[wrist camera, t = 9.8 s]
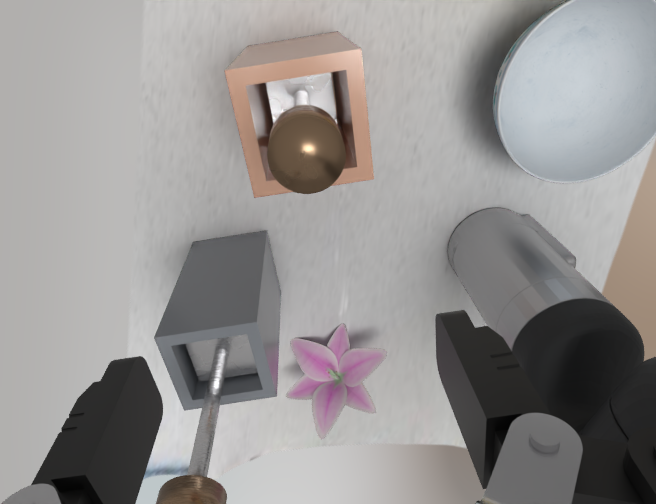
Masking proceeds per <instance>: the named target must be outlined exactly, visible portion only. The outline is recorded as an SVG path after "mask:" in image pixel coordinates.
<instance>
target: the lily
mask: <svg viewBox="0 0 656 504" xmlns="http://www.w3.org/2000/svg"><path fill="white" fill-rule="evenodd" d="M291 347H292V350H293V353H294V355H295V358H296V360H297V362H298V364H299V366H300V368H301V370H302V371H303V372H304V374H305V375H304V376H302V377H301V378H300V379H299V380H298V381H297V382H296V383H295V384H294V385H293V386H292V387H291V389H290V390H289V391H288V393H287V395H286V397H287V398H290V399H302V400H307V399H312V411H313V417H314V423H315V427H316V431H317V433H318V436H319V438H320V439H321V440H322V439H324V438H325V437H326V436H327V435H328V433H329V432H330V430H331V429H332V427H333V425H334V424H335V422H336V420H337V418H338V417H339V415H340V413H341V412H342V410H343V408H344V406H345V405H347V406H349V407H352V408H354V409H357V410H360V411H364V412H368V413H376V409H375V406H374V403H373V401H372V399H371V397H370V395H369V393H368V391H367V390H366V388H365V386H364V385H363V383H362V382H363V381H364V380H365V379H367V377H368V376H369V375H370V374H371V373H372V372H373V371H374V370H375V369H376V368H377V367H378V366H379V365H380V364H381V363H382V362H383V360H384V359H385V358H386V356H387V353H388V352H387V351H386V350H384V349H377V348H355V349H351V350H350V343H349V338H348V334H347V330H346V327H345V324H340V326H339V327H338V328H337V329H336V331H335V332H334V334H333V335H332V337H331V339H330V340H329V343H328V345H327V347H326V346H323V345H321V344H319V343H315V342H312V341H308V340H304V339H299V338H294V339H292V340H291Z"/></svg>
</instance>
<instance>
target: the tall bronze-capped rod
mask: <svg viewBox="0 0 656 504" xmlns="http://www.w3.org/2000/svg"><path fill="white" fill-rule="evenodd" d="M186 347H187V350H188V352H189V355H190V358H191V360H192V363H193V366H194V368H195V371H196V374H197V376H198V379H199V382H200V381H207V380H208V384H207V389H206V393H205V398H204V402H203V407H202V411H201V416H200V420H199V425H198V429H197V434H196V438H195V443H194V448H193V452H192V457H191V461H190V466H189V470H188V475H185V476H179V477H176V478H173V479H171V480H169V481H167V482H166V483H165V484H164V485H163V486H162V487H161V489H160V491H159V495H158V498H157V502H156V504H226V500H227V494H226V491H225V489H224V488H223V486H221V484H219V483H218V482H216V481H215V480H213V479H210V478H208V477H207V473H208V468H209V462H210V457H211V451H212V446H213V440H214V434H215V429H216V423H217V418H218V412H219V406H220V401H221V395H222V390H223V384H224V379H225V378H226V377H233V376H239V375H246V374H252V373H258V371H257V367H256V364H255V360H254V357H253V354H252V350H251V347H250V343H249V340H248V336H247V334H244V335H238V336H231V337H225V338H218V339H212V340H206V341H199V342H193V343H186Z"/></svg>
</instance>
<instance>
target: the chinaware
mask: <svg viewBox="0 0 656 504" xmlns="http://www.w3.org/2000/svg"><path fill="white" fill-rule="evenodd" d="M493 115H494V121H495V126H496V130H497V133H498V136H499V138H500V140H501V142H502V145H503V146H504V148H505V150H506V152H507V153H508V155H509V156H510V157H511V159H512V160H513V161H514V162H515V163H516V164H517V165H518V166H519V167H520V168H521V169H522V170H524V171H525V172H527V173H528V174H530V175H532V176H534V177H536V178H538V179H541V180H544V181H548V182H553V183H578V182H583V181H588V180H591V179H595V178H598V177H600V176H603V175H605V174H607V173H609V172H611V171H613V170H615V169H617V168H619V167H620V166H622V165H624V164H625V163H627V162H628V161H629V160H631V159H632V158H633V157H635V156H636V155H637V154H638V153H639V152H640V151H642V150H643V149H644V148H645V147H646V146H647V145H648V144H649V143H650V141H651V140H652V139H653V138H654V137H655V136H656V0H567V1H565V2H563V3H561V4H559V5H558V6H556V7H554V8H553V9H551V10H549V11H548V12H546V13H545V14H544V15H542V16H541V17H540V18H538V19H537V20H536V21H535V22H534V23H532V24H531V25H530V26H529V27H528V28H527V29H526V30H525V31H524V32H523V33H522V34H521V36H520V37H519V38H518V39H517V40H516V42H515V43H514V44H513V46H512V47H511V49H510V50H509V52H508V54H507V55H506V57H505V59H504V61H503V63H502V65H501V68H500V70H499V73H498V76H497V79H496V83H495V88H494V95H493Z"/></svg>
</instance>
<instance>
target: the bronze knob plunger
mask: <svg viewBox="0 0 656 504" xmlns="http://www.w3.org/2000/svg"><path fill="white" fill-rule="evenodd" d="M266 87H267V92H268V98H269V103H270V108H271V113H272V118H273V123H274V124H273V126H272V128H271V132H270V138H269V144H268V151H267V160H268V165H269V168H270V171H271V173H272V175H273V176H274V178H275V179H276V180H277V181H278V182H279V183H280V184H281V185H282V186H284V187H285V188H287V189H288V190H291V191H293V192H297V193H302V194H311V193H317V192H320V191H323V190H325V189H327V188H328V187H330V186H331V185H332V184H333V183H335V181H336V180H337V179H338V178H339V176H340V175H341V173H342V171H343V169H344V166H345V161H346V150H345V145H344V142H343V139H342V136H341V134H340V131H339V128H338V125H337V117H336V109H335V101H334V94H333V86H332V78H331V72H329V73H323V74H316V75H310V76H304V77H297V78H291V79H285V80H279V81H272V82H266Z"/></svg>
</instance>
